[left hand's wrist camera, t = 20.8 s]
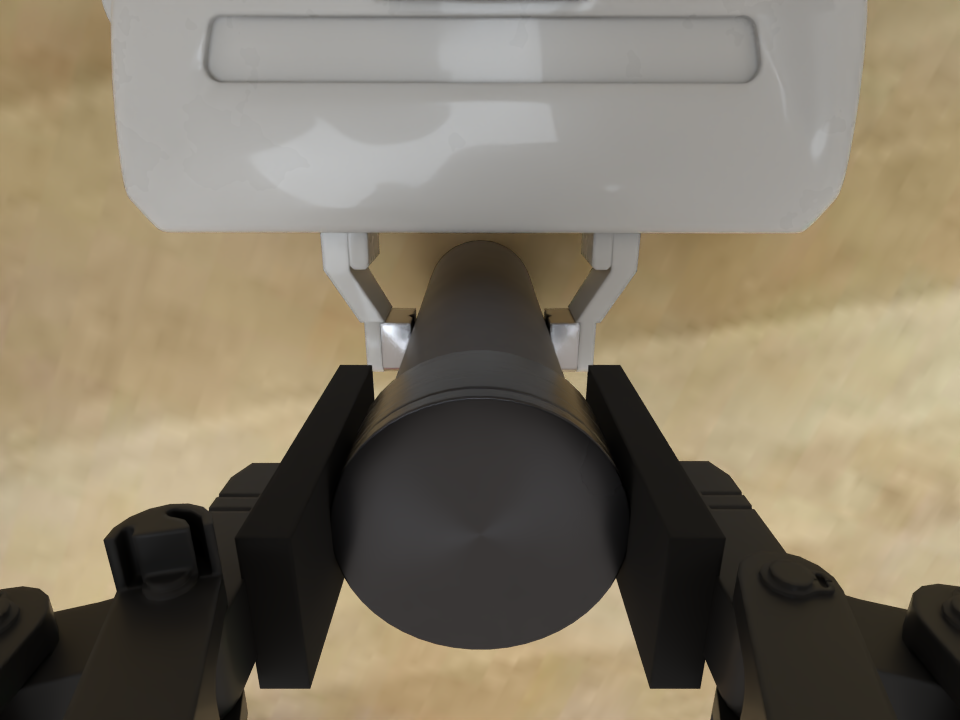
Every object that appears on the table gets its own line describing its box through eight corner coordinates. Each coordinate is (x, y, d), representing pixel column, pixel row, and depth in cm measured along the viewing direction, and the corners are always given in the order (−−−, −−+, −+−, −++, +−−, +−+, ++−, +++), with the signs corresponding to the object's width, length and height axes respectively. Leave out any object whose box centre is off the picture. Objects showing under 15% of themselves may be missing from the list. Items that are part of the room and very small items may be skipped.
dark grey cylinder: (525, 343, 27) (584, 616, 12) (426, 335, 27) (355, 600, 12) (536, 244, 26) (621, 410, 10) (432, 236, 26) (358, 389, 10)
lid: (336, 357, 12) (304, 407, 9) (606, 339, 11) (634, 385, 9) (372, 575, 13) (351, 657, 11) (605, 562, 13) (629, 642, 11)
